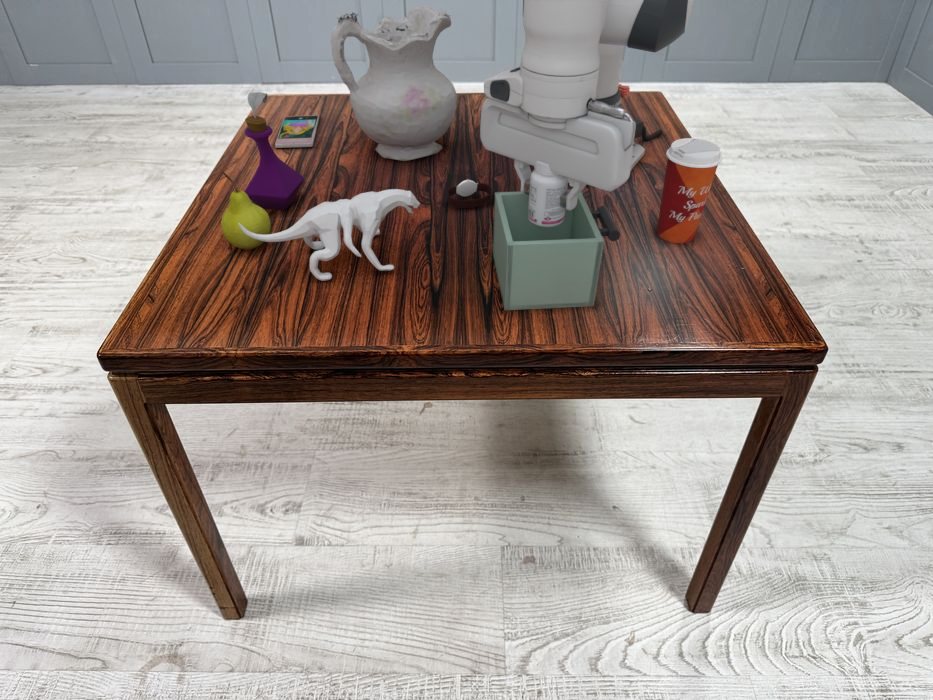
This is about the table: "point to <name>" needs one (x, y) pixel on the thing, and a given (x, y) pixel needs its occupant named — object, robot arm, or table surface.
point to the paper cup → (686, 187)
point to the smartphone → (297, 131)
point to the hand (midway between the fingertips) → (547, 199)
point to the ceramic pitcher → (399, 82)
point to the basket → (548, 254)
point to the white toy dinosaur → (343, 225)
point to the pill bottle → (546, 196)
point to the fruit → (244, 220)
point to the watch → (468, 194)
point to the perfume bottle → (269, 165)
